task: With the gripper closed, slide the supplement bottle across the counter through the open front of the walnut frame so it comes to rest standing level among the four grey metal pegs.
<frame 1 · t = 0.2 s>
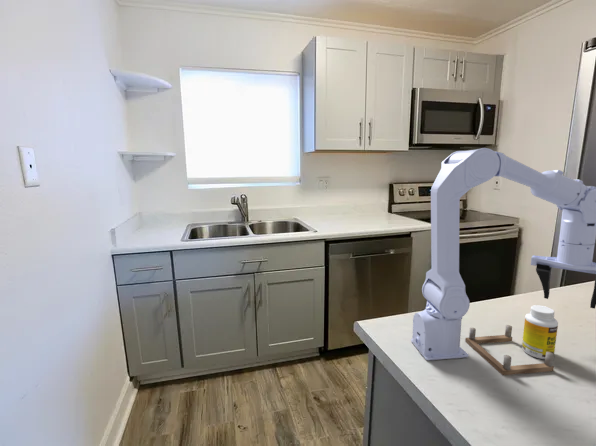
hand: (568, 301, 68), 10 cm above the countertop, tool pointing down, fingers open, 7 cm apart
peg frame: (507, 355, 67), on the countertop
supplement bottle: (537, 353, 67), on the countertop
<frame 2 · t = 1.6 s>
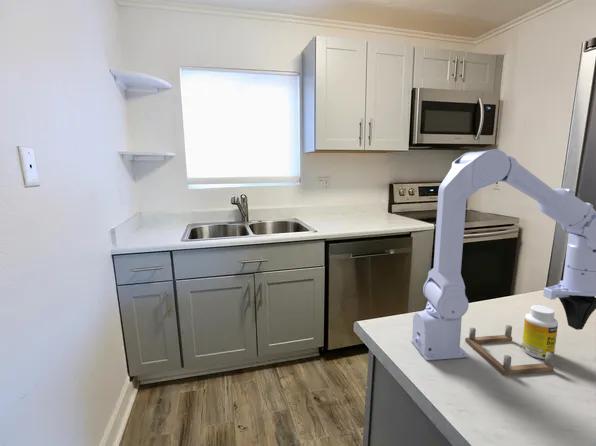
hand: (575, 327, 67), 5 cm above the countertop, tool pointing down, fingers closed
nothing on the countertop moved.
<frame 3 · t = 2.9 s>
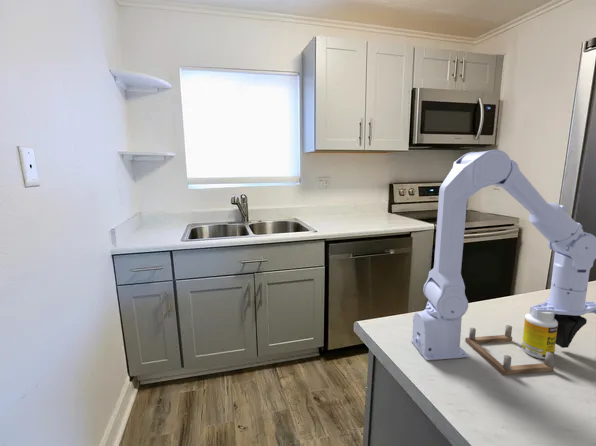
hand: (561, 345, 67), 1 cm above the countertop, tool pointing down, fingers closed
supplement bottle: (537, 353, 67), on the countertop, touching gripper
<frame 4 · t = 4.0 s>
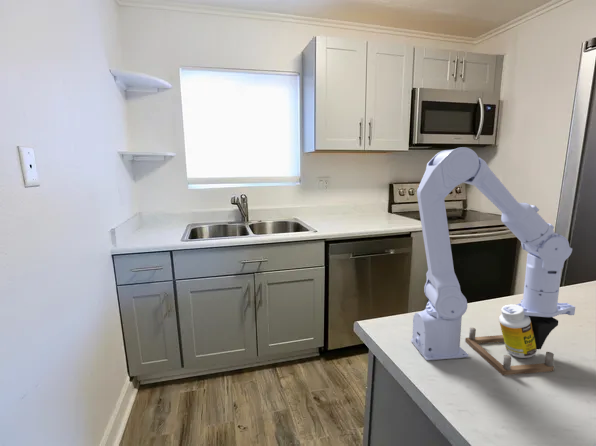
hand: (535, 346, 67), 1 cm above the countertop, tool pointing down, fingers closed
supplement bottle: (521, 351, 67), point 1 cm above the countertop, touching gripper
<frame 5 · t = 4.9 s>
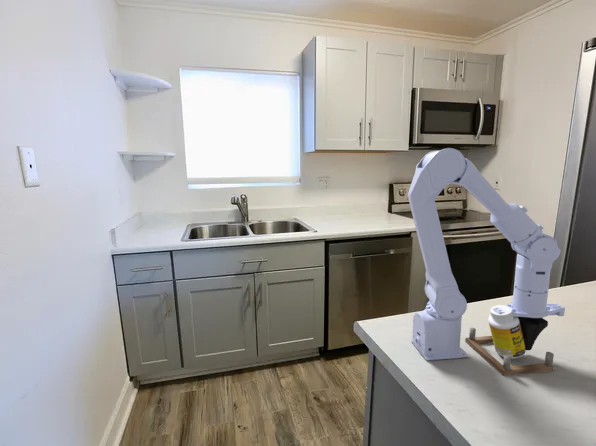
hand: (524, 347, 67), 1 cm above the countertop, tool pointing down, fingers closed
supplement bottle: (510, 352, 66), point 1 cm above the countertop, touching gripper
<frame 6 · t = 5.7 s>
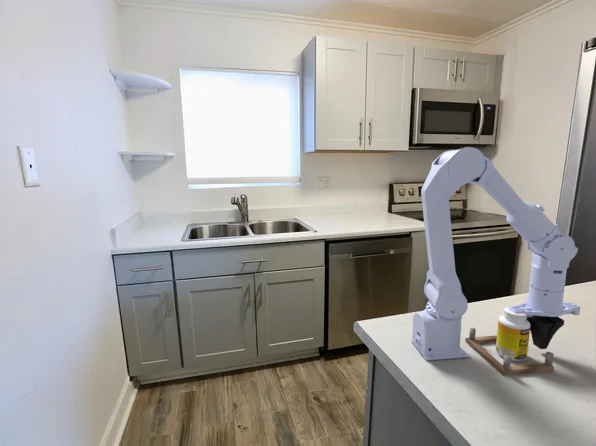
hand: (539, 346, 67), 1 cm above the countertop, tool pointing down, fingers closed
supplement bottle: (510, 355, 67), on the countertop
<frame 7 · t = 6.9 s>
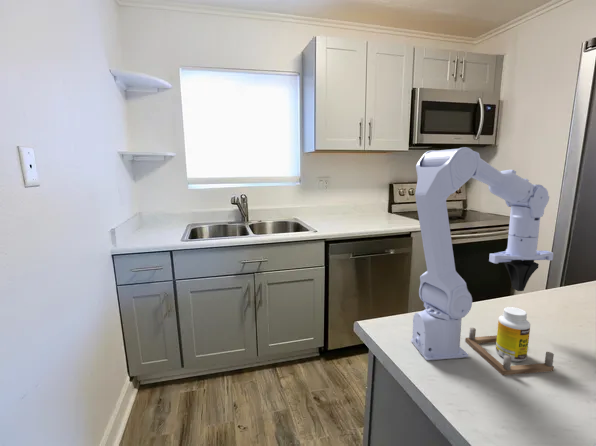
hand: (517, 289, 75), 10 cm above the countertop, tool pointing down, fingers closed
nothing on the countertop moved.
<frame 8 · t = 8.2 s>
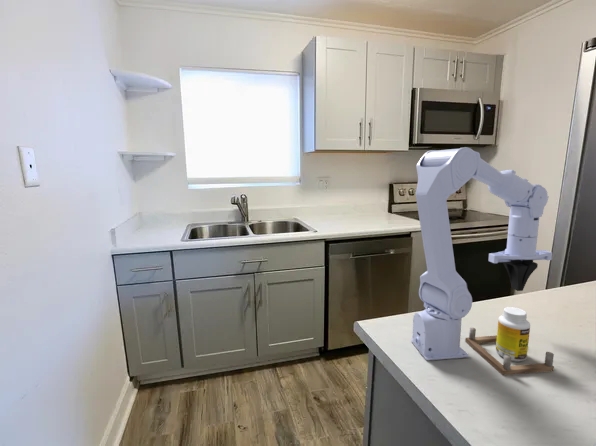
hand: (517, 289, 75), 10 cm above the countertop, tool pointing down, fingers closed
nothing on the countertop moved.
at the end: supplement bottle 0.9 cm off-centre on the peg frame, point 0.0 cm above the peg frame's base; supplement bottle tilted 0°; supplement bottle moved 6.1 cm from its start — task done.
